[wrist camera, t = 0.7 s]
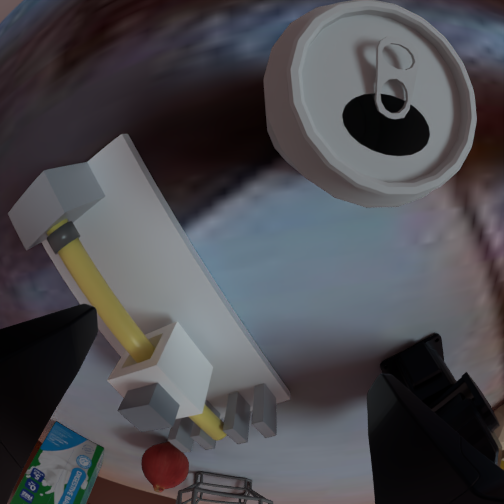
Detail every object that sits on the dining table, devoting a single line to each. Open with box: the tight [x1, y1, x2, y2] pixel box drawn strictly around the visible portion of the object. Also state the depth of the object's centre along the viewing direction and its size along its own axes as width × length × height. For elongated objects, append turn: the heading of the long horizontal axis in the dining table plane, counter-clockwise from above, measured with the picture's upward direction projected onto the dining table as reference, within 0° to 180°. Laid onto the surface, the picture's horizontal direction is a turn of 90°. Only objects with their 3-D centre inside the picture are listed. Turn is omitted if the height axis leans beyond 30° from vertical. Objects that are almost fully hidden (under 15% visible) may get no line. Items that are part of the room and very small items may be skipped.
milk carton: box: [10, 421, 104, 504], centre depth 23 cm, size 9×9×25 cm
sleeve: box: [107, 321, 213, 432], centre depth 19 cm, size 5×5×7 cm
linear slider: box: [8, 134, 291, 453], centre depth 20 cm, size 26×12×6 cm, turn 28°
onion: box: [142, 442, 189, 493], centre depth 27 cm, size 6×6×8 cm
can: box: [263, 0, 477, 208], centre depth 12 cm, size 8×8×12 cm
